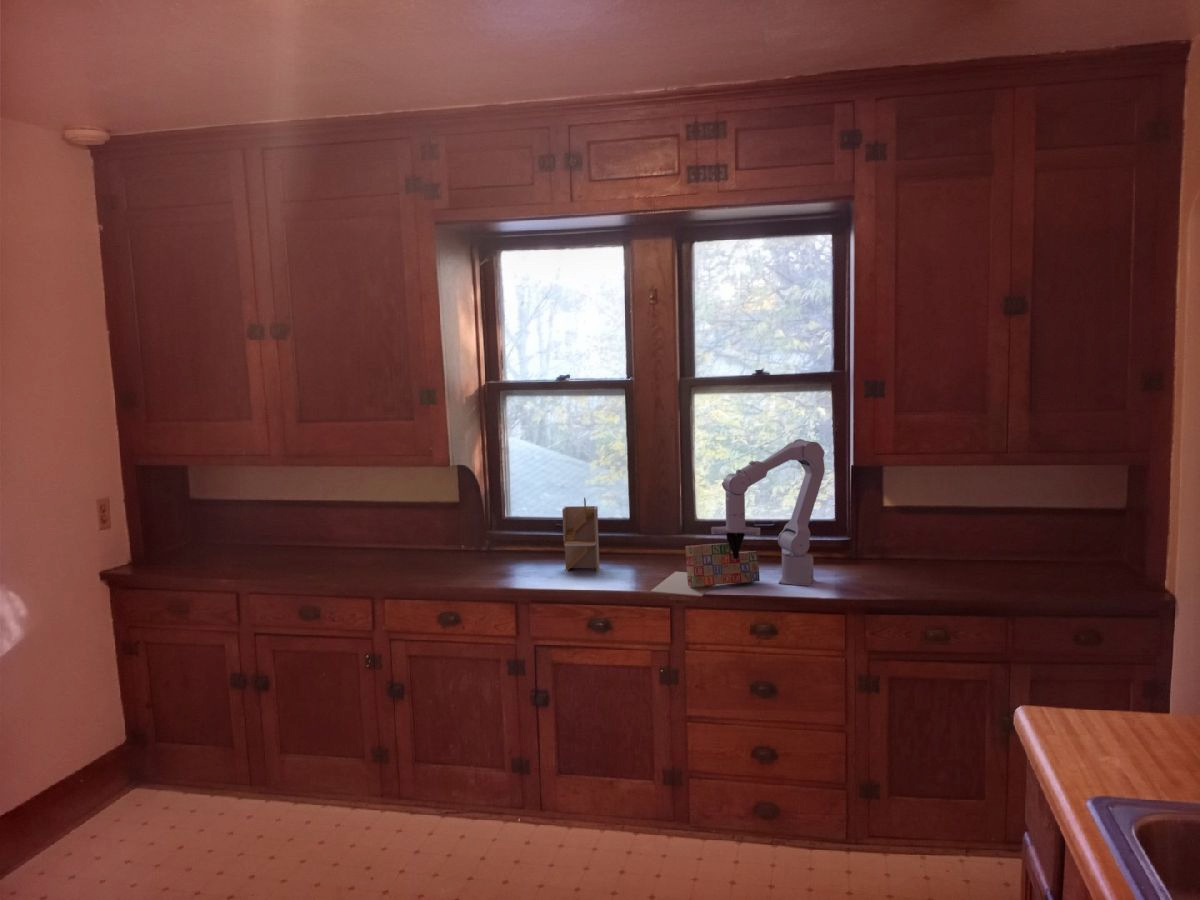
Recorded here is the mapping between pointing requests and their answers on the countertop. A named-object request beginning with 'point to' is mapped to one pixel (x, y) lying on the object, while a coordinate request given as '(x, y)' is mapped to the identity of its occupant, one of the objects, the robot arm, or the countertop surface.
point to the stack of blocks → (720, 565)
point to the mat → (680, 586)
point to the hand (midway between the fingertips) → (736, 557)
